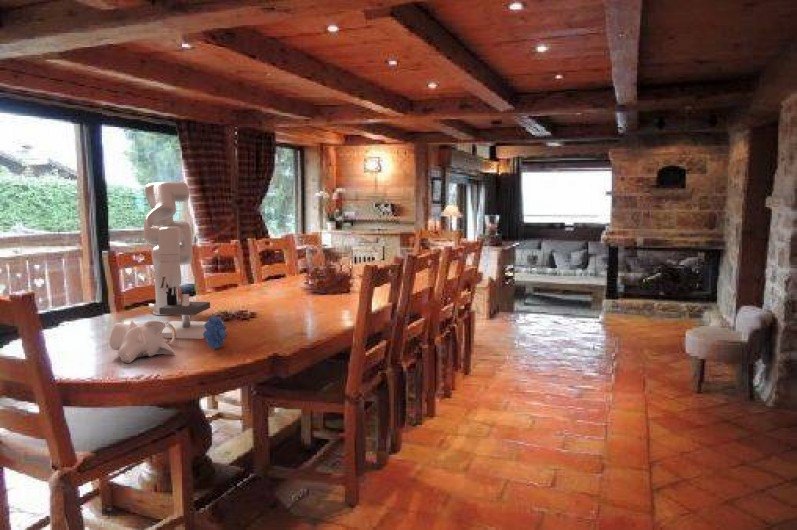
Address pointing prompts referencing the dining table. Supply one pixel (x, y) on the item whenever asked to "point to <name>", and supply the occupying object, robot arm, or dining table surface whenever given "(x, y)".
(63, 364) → the dining table surface
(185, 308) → the square hole plate
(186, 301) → the glossy pinkish cylinder
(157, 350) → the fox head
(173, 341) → the ring
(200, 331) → the stand plate
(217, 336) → the grapes
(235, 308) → the dining table surface
